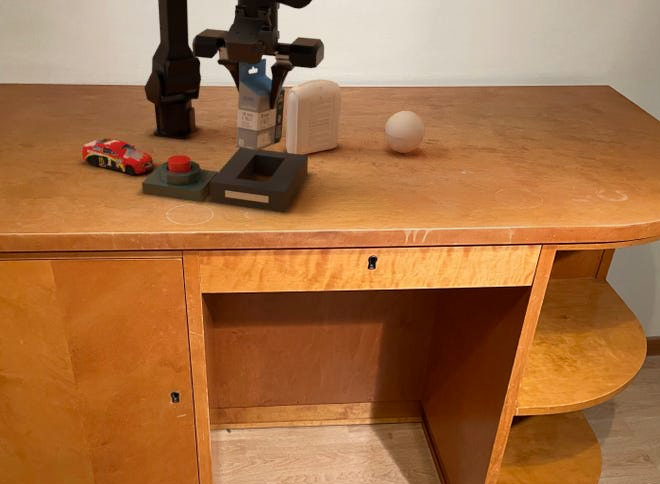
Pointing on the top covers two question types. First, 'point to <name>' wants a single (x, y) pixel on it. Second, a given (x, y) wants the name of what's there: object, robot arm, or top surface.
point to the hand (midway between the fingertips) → (259, 107)
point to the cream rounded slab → (312, 116)
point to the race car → (117, 156)
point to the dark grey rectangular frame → (242, 191)
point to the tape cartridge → (257, 109)
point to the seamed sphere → (404, 131)
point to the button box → (179, 183)
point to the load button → (179, 164)
